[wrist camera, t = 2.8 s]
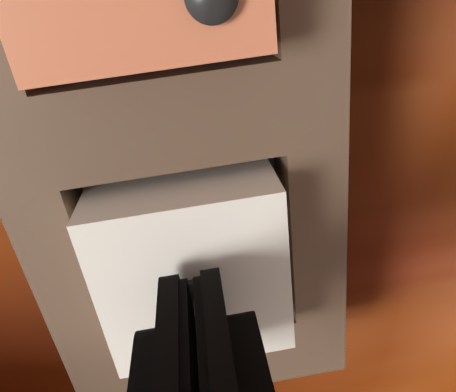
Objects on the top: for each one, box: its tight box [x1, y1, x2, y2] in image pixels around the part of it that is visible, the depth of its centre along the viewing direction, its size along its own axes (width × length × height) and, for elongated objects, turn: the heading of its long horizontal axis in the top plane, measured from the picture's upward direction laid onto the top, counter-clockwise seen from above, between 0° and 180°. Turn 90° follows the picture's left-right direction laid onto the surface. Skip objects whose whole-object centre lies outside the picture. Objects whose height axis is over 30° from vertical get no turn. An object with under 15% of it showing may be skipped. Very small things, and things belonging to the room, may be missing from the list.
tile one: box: [66, 159, 295, 379], centre depth 13 cm, size 6×6×3 cm
